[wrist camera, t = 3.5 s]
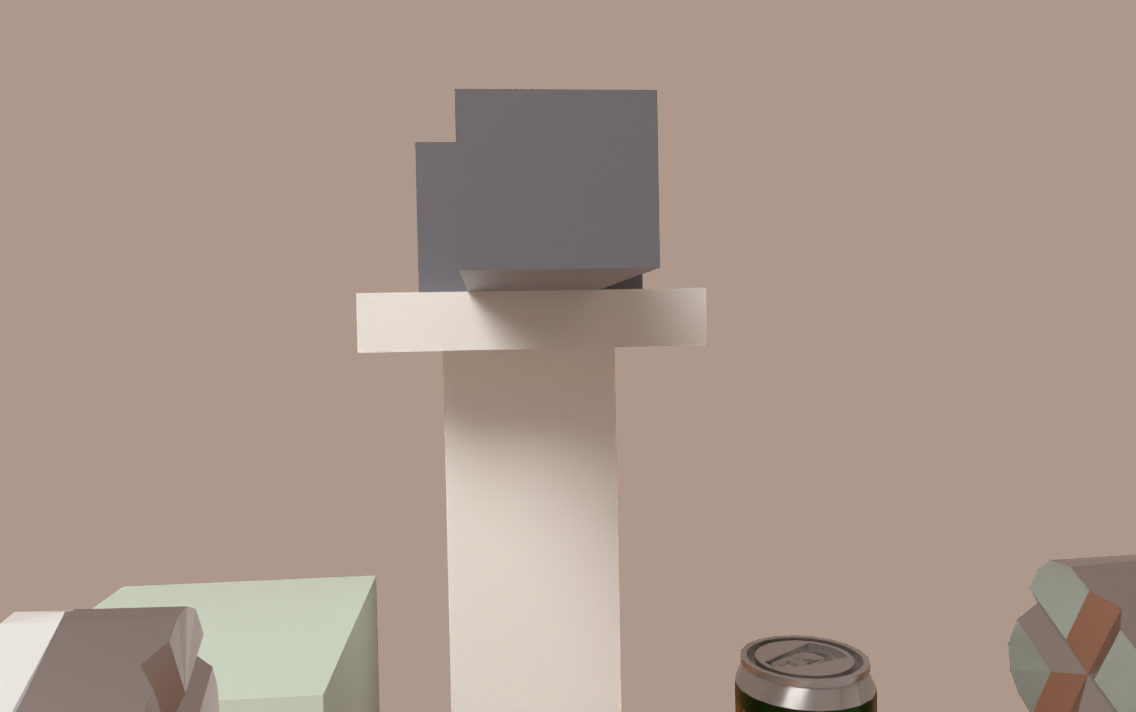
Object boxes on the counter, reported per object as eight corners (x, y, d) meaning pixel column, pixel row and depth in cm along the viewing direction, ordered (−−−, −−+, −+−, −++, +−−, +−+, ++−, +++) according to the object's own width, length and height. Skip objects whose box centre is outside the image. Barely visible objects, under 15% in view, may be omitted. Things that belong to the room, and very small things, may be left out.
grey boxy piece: (734, 266, 15) (731, 31, 15) (379, 271, 15) (373, 27, 15) (593, 303, 35) (591, 201, 35) (439, 305, 35) (437, 202, 35)
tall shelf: (642, 948, 36) (631, 302, 35) (720, 1251, 24) (705, 288, 24) (416, 967, 35) (400, 306, 35) (382, 1291, 23) (356, 293, 23)
